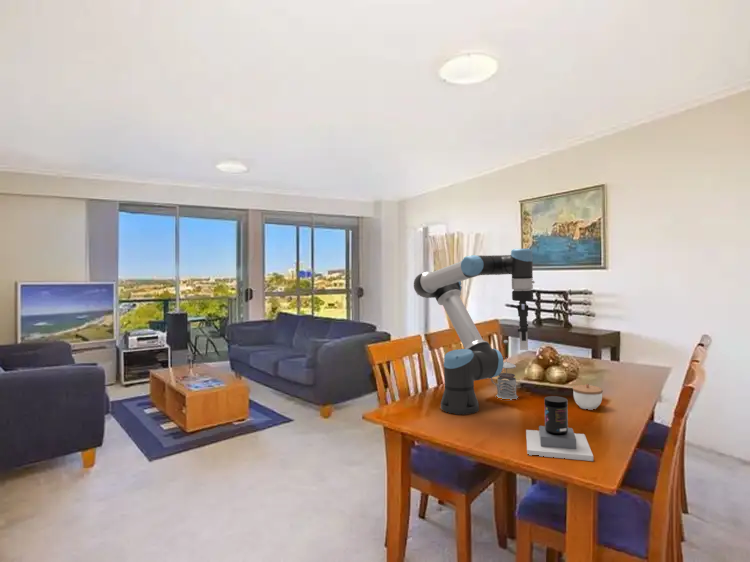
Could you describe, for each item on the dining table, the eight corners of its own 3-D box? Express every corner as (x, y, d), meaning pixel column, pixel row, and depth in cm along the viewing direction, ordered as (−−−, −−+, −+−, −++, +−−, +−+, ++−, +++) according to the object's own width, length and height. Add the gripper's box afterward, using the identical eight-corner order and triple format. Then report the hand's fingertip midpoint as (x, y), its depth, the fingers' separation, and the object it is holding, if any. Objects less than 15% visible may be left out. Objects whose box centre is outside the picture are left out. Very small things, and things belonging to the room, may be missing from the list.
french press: (518, 400, 191) (517, 342, 190) (490, 399, 194) (489, 341, 194) (518, 394, 200) (517, 338, 199) (492, 393, 204) (490, 338, 203)
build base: (527, 455, 135) (527, 440, 135) (526, 434, 152) (525, 420, 152) (593, 461, 129) (593, 445, 129) (584, 438, 146) (584, 424, 146)
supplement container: (556, 427, 145) (555, 395, 145) (573, 433, 139) (572, 400, 138) (540, 430, 142) (539, 397, 142) (556, 437, 136) (555, 403, 136)
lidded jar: (606, 412, 173) (606, 387, 172) (576, 411, 175) (576, 387, 175) (598, 404, 183) (598, 381, 183) (570, 403, 185) (570, 380, 185)
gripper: (534, 291, 155) (535, 352, 155) (532, 288, 179) (533, 341, 179) (511, 291, 157) (512, 352, 158) (512, 288, 181) (513, 341, 181)
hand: (523, 346), depth 168 cm, fingers open, 13 cm apart
